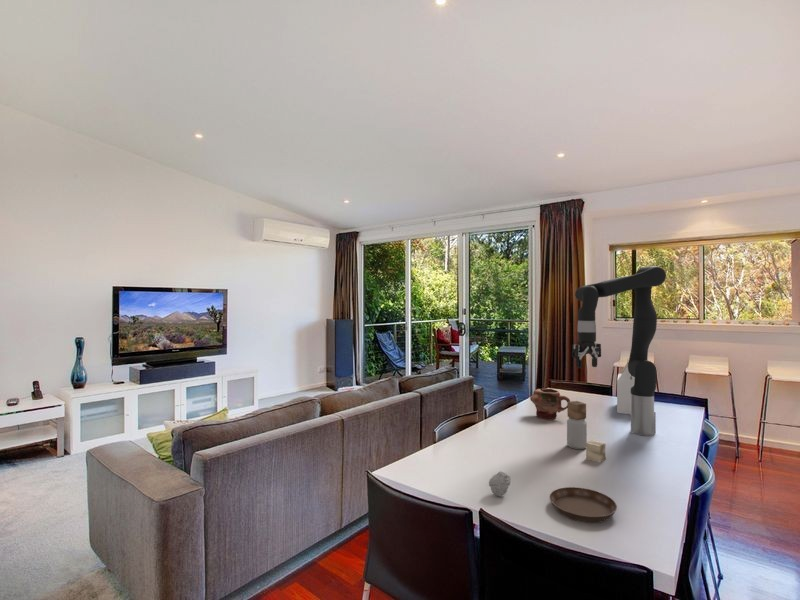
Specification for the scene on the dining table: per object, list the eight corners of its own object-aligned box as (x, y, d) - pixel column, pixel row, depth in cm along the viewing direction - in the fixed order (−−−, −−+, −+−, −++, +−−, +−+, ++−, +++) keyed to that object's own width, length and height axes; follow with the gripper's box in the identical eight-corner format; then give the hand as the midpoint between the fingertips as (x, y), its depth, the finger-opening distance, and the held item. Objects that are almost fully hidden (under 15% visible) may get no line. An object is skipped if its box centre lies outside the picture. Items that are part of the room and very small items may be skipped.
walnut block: (577, 415, 176) (577, 400, 176) (586, 418, 172) (586, 403, 172) (567, 416, 175) (567, 401, 175) (576, 419, 170) (576, 404, 170)
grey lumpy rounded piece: (515, 497, 128) (515, 474, 128) (495, 501, 126) (495, 478, 126) (503, 489, 134) (503, 467, 134) (484, 492, 132) (484, 470, 132)
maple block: (592, 455, 163) (592, 440, 163) (605, 459, 160) (605, 443, 160) (586, 458, 160) (586, 442, 160) (599, 462, 156) (599, 446, 156)
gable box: (618, 404, 244) (618, 355, 244) (644, 406, 238) (644, 357, 238) (617, 413, 225) (616, 360, 225) (645, 416, 219) (645, 362, 219)
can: (588, 450, 169) (588, 420, 169) (568, 449, 170) (568, 419, 170) (584, 444, 176) (584, 415, 176) (565, 443, 178) (565, 414, 178)
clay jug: (572, 417, 217) (572, 390, 217) (569, 423, 206) (568, 394, 206) (532, 412, 227) (532, 386, 227) (527, 417, 216) (527, 390, 216)
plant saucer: (548, 520, 116) (548, 509, 116) (550, 492, 132) (550, 483, 132) (620, 532, 110) (620, 520, 110) (613, 502, 126) (613, 491, 126)
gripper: (592, 329, 194) (592, 365, 194) (567, 330, 189) (567, 367, 189) (605, 331, 187) (605, 367, 187) (580, 331, 182) (580, 369, 182)
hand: (586, 367), depth 188 cm, fingers open, 8 cm apart
